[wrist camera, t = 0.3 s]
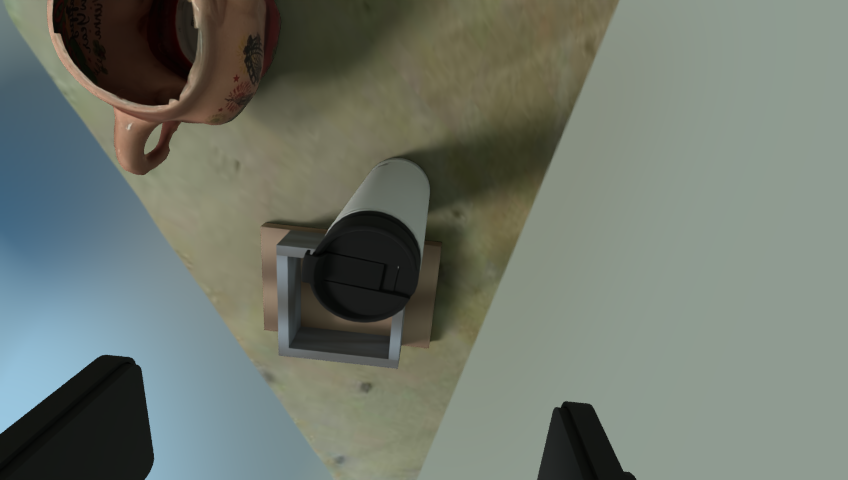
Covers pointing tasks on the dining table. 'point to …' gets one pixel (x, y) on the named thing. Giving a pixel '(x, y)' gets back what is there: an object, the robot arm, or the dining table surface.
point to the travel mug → (373, 246)
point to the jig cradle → (323, 331)
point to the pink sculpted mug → (165, 62)
